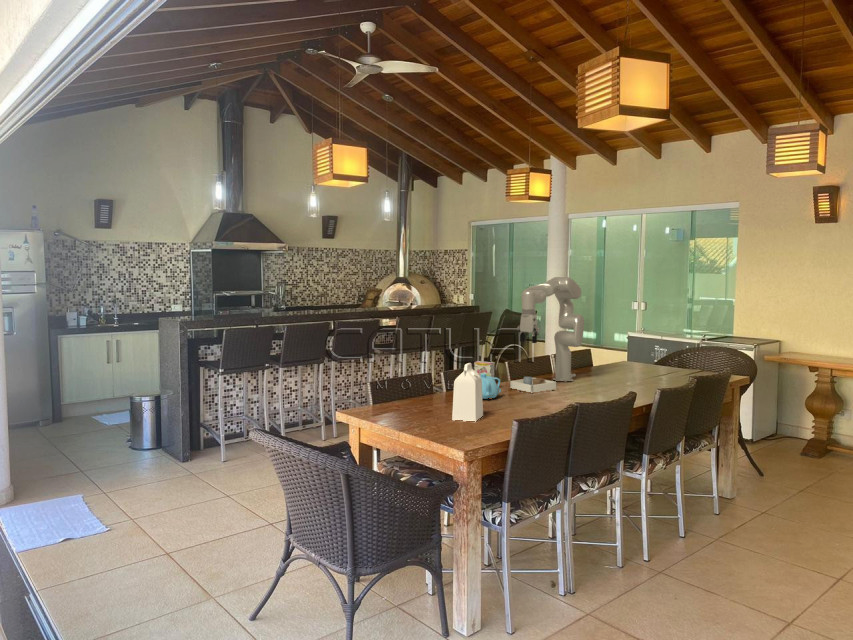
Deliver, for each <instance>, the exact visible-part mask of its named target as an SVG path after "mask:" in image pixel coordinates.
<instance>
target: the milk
mask: <svg viewBox="0 0 853 640" xmlns="http://www.w3.org/2000/svg"><path fill="white" fill-rule="evenodd" d="M452 397H453V398H452V418H451V420H452V421H455V420H463V421H462V422H466V421H475V422H474V423H477V422H478V421H479V420H480V419H479V418H481V417H482V416H483V417H484V407H483V406H484V405H483V401H484V400H483V399H482V379H481V377H480V376H479V375H478V374H477V373H476V372H475V371H474V368H473V366H472V363H471V362H468V363H466V364H464V367H463V372H462V373H460V374H459V375H458V376H457V377H456V378H455V380H454V382H453V395H452ZM483 417H482V418H483ZM482 418H481V419H482ZM478 419H479V420H478ZM477 420H478V421H477ZM476 421H477V422H476Z"/></svg>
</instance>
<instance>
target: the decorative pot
mask: <svg viewBox="0 0 853 640" xmlns="http://www.w3.org/2000/svg"><path fill="white" fill-rule="evenodd" d="M480 377H481V379H482V400H483V399H484V400H485V399H486V400H489V399H488V398H493V399H495V398H497V396H498V394H500V393H501V392H502V389H501V388H500V386H501V385H500V384H501V379H500V378H498V377H496V376H494V378H493V377H491V376H486V374H484V373H482V374H481V376H480ZM496 380H497V381H498V382H497V383H496Z"/></svg>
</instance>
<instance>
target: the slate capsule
mask: <svg viewBox="0 0 853 640" xmlns="http://www.w3.org/2000/svg"><path fill="white" fill-rule="evenodd" d="M532 378H533V376H528V375H527V376H523V379H524V384H529V385H532Z"/></svg>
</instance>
